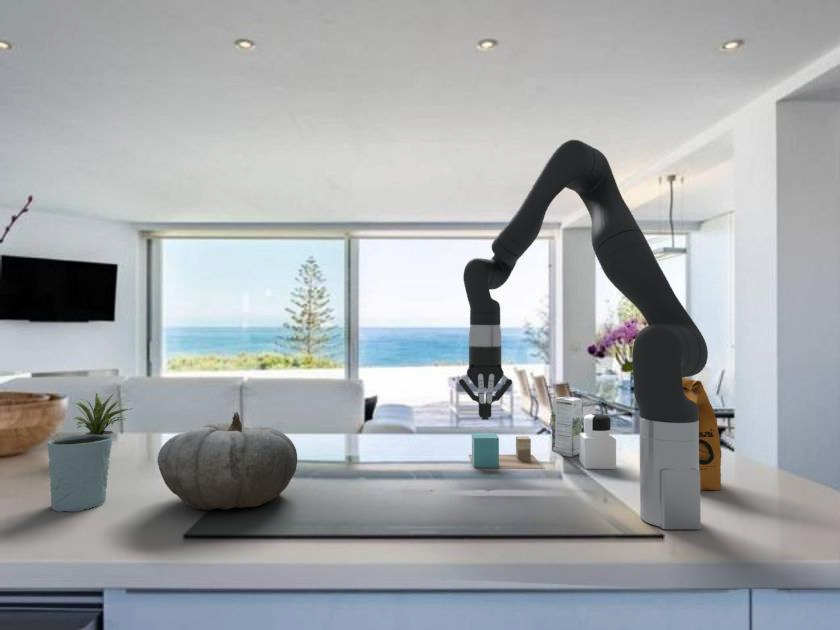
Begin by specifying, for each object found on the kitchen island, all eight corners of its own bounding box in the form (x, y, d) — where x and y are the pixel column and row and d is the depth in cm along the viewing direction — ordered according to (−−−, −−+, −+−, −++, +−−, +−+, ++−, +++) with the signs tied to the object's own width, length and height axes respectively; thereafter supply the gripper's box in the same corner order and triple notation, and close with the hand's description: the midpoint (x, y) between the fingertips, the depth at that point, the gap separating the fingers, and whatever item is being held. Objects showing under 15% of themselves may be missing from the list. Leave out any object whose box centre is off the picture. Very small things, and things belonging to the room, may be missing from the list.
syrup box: (561, 450, 149) (560, 396, 149) (582, 454, 145) (582, 397, 146) (551, 454, 145) (551, 398, 145) (573, 457, 141) (572, 400, 141)
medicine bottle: (609, 462, 136) (608, 412, 136) (616, 469, 129) (616, 417, 129) (579, 461, 137) (578, 412, 137) (584, 469, 130) (584, 417, 130)
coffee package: (677, 491, 112) (676, 381, 113) (657, 474, 125) (656, 375, 125) (729, 492, 111) (728, 381, 112) (703, 476, 124) (702, 376, 124)
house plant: (100, 467, 130) (101, 397, 131) (47, 465, 132) (48, 396, 133) (140, 454, 144) (141, 390, 145) (92, 452, 146) (93, 389, 147)
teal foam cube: (498, 467, 127) (498, 438, 127) (474, 467, 127) (474, 438, 127) (495, 461, 133) (495, 433, 133) (471, 461, 133) (471, 433, 133)
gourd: (145, 517, 88) (160, 406, 92) (155, 500, 111) (167, 411, 114) (305, 515, 97) (312, 414, 101) (283, 499, 120) (290, 417, 123)
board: (545, 473, 126) (545, 446, 126) (473, 473, 126) (473, 446, 126) (532, 458, 140) (532, 434, 140) (468, 458, 140) (468, 434, 140)
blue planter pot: (37, 515, 97) (38, 445, 97) (58, 498, 107) (59, 435, 107) (102, 510, 100) (103, 442, 100) (117, 494, 110) (117, 432, 110)
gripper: (457, 345, 127) (457, 422, 126) (516, 345, 127) (516, 422, 126) (455, 344, 134) (455, 416, 134) (510, 344, 134) (510, 416, 134)
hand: (485, 419), depth 130 cm, fingers closed
